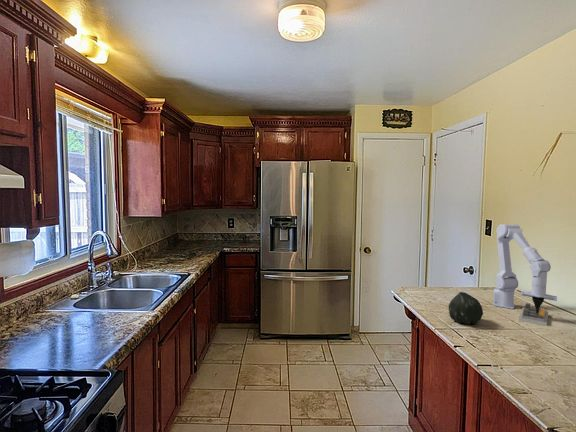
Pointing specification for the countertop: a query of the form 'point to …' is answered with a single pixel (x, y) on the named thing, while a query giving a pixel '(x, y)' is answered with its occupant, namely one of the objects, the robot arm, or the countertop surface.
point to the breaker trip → (542, 312)
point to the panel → (534, 317)
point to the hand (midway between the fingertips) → (537, 312)
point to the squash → (465, 309)
